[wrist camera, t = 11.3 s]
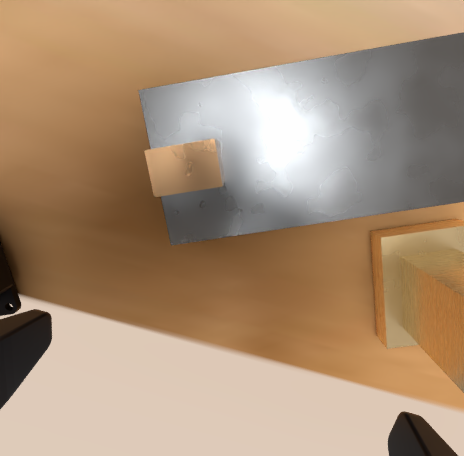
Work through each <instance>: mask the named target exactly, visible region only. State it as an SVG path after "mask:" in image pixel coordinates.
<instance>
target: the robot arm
mask: <svg viewBox="0 0 464 456" xmlns="http://www.w3.org/2000/svg"><path fill="white" fill-rule="evenodd" d="M10 304H12V306H13V307H11V306H10ZM20 308H21V302H20V299H19V296H18V293H17V290H16V287H15V284H14V281H13V278H12V275H11V272H10V269H9V266H8V263H7V260H6V257H5V254H4V251H3V248H2V245H1V242H0V316H2V315H8V314H13V313H15V312H17V311H18V310H19V309H20ZM51 339H52V322H51V315H50V314H49V313H48V312H44V311H41V310H36V309H34V310H30V311H27V312H23V313H20V314H17V315H14V316H10V317H7V318H4V319H0V409H1V408H2V407H3V406H4V405H5V403H6V402H7V401H8V400H9V399H10V397H11V396H12V395H13V393H14V392H15V391H16V390H17V388H18V387H19V386H20V384H21V383H22V382H23V380H24V379H25V378H26V376H27V375H28V374H29V372H30V371H31V370H32V368H33V367H34V366H35V364H36V363H37V362H38V360H39V359H40V358H41V357H42V355H43V354H44V353H45V351H46V350H47V349H48V347H49V345H50V343H51ZM388 451H389V456H458V455H457V454H456V453H455V452H454V451H453V450H452V449H451V448H450V447H449V445H448V444H447V443H446V442H445V441H444V440H443V439H442V438H441V437H440V436H439V435H438V434H437V433H436V431H435V430H434V429H433V428H432V427H431V426H430V425H429V424H428V423H427V422H426V421H425V420H424V419H423V418H422V417H421V416H419V415H416V414H412V413H408V412H401V413H400V414H399V415H398V417H397V420H396V422H395V424H394V426H393V428H392V430H391V432H390V435H389V438H388Z"/></svg>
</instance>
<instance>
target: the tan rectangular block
mask: <svg viewBox="0 0 464 456" xmlns="http://www.w3.org/2000/svg"><path fill="white" fill-rule="evenodd" d="M370 234H371V250H372V266H373V282H374V298H375V314H376V330H377V336H378V337H379V339H380V340H381V341H382V343H383V344H384V345H385V347H386V348H387V349H389V348H397V347H405V346H413V345H420V347H421V348H422V349H423V350H424V351H425V352H426V353H427V354H428V355H429V356H430V357H431V358H432V359H433V360H434V362H435V363H436V364H437V365H438V366H439V367H440V368H441V369H442V370H443V371H444V372H445V373H446V374H447V375H448V376H449V378H450V379H451V380H452V381H453V382H454V383H455V384H456V385H457V386H458V387H459V388H460V389H461V390H462V391H463V392H464V221H461V220H458V219H452V220H445V221H438V222H431V223H424V224H417V225H410V226H404V227H397V228H390V229H383V230H376V231H370Z"/></svg>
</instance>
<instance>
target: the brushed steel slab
mask: <svg viewBox="0 0 464 456" xmlns="http://www.w3.org/2000/svg"><path fill="white" fill-rule="evenodd" d="M138 91H139V95H140V100H141V105H142V110H143V114H144V119H145V124H146V129H147V134H148V138H149V143H150V148H151V149H149V150H144V152H145V157H146V161H147V166H148V171H149V175H150V180H151V185H152V189H153V194H154V197H159V196H161V200H162V205H163V210H164V214H165V219H166V224H167V229H168V233H169V238H170V243H171V245H177V244H184V243H190V242H197V241H204V240H210V239H217V238H224V237H230V236H237V235H244V234H251V233H257V232H264V231H271V230H277V229H284V228H291V227H298V226H304V225H311V224H318V223H324V222H331V221H338V220H344V219H351V218H358V217H365V216H371V215H378V214H385V213H391V212H398V211H405V210H412V209H418V208H425V207H432V206H438V205H445V204H452V203H458V202H464V33H458V34H452V35H447V36H441V37H435V38H430V39H424V40H419V41H413V42H407V43H402V44H396V45H390V46H385V47H379V48H373V49H368V50H362V51H357V52H351V53H345V54H340V55H334V56H328V57H323V58H317V59H312V60H306V61H300V62H295V63H289V64H283V65H278V66H272V67H266V68H261V69H255V70H250V71H244V72H238V73H233V74H227V75H221V76H216V77H210V78H204V79H199V80H193V81H188V82H182V83H176V84H171V85H165V86H159V87H154V88H148V89H143V90H138Z"/></svg>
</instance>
